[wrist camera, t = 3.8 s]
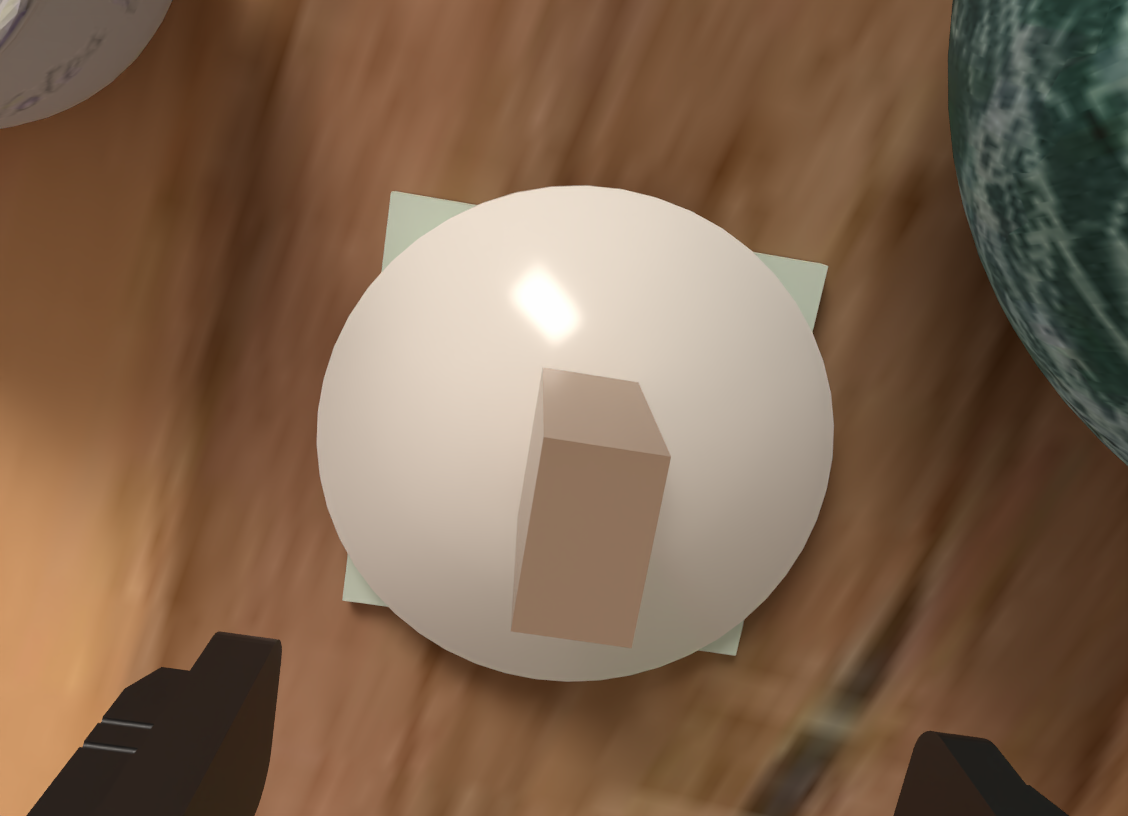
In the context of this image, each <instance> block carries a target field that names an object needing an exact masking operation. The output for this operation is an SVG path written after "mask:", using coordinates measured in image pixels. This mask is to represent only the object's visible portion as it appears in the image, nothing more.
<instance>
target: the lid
mask: <svg viewBox="0 0 1128 816" xmlns="http://www.w3.org/2000/svg"><path fill="white" fill-rule="evenodd" d="M833 435H834V422H833V411H832V400H831V392H830V387H829V383H828V379H827V374H826V370H825V366H824V362H823V359H822V356H821V354H820V351H819V349H818V346H817V343H816V341H815V338H814V336H813V333H812V330H811V329H810V327H809V325H808V323H807V321H806V320H805V318H804V316H803V314H802V312H801V311H800V309H799V307H798V305H797V303H796V302H795V300H794V299H793V298H792V296H791V295H790V294H789V292H788V291H787V290H786V288H785V287H784V286H783V284H782V283H781V282H780V280H779V279H778V278H777V276H776V275H775V274H774V273H773V272H772V271H771V270H770V269H769V268H768V267H767V266H766V265H765V264H764V263H763V262H762V261H761V260H760V259H759V258H758V257H757V256H756V255H755V254H754V253H753V252H752V251H751V250H750V249H749V248H747V247H746V246H745V245H743V244H742V243H741V242H740V241H738V240H737V239H736V238H734V237H733V236H732V235H730V234H729V233H728V232H726V231H725V230H724V229H722V228H720V227H719V226H717V225H715V224H713V223H712V222H710V221H708V220H706V219H704V218H703V217H701V216H699V215H697V214H695V213H694V212H692V211H689V210H687V209H684V208H682V207H679V206H677V205H674V204H671V203H669V202H666V201H664V200H661V199H659V198H656V197H653V196H648V195H644V194H640V193H636V192H632V191H628V190H624V189H619V188H609V187H599V186H590V185H572V186H549V187H543V188H537V189H531V190H525V191H519V192H515V193H512V194H508V195H505V196H502V197H499V198H495V199H492V200H489V201H486V202H483V203H481V204H478V205H476V206H474V207H472V208H470V209H468V210H466V211H463V212H461V213H459V214H457V215H455V216H453V217H451V218H449V219H448V220H446V221H445V222H443V223H442V224H440V225H438V226H437V227H435V228H434V229H432V230H431V231H429V232H428V233H426V234H424V235H423V236H421V237H420V238H418V239H417V240H416V241H415V242H414V243H413V244H411V245H410V246H409V247H408V248H407V249H405V250H404V251H403V252H402V253H401V254H400V255H398V256H397V257H396V258H395V259H394V260H393V261H391V263H390V264H389V265H388V266H387V267H386V268H385V269H384V270H383V271H382V273H381V274H380V275H379V276H378V277H377V278H376V279H375V280H374V282H373V283H372V284H371V285H370V286H369V287H368V289H367V290H366V292H365V293H364V295H363V296H362V297H361V299H360V300H359V302H358V303H357V305H356V306H355V308H354V309H353V311H352V312H351V314H350V315H349V317H348V319H347V321H346V323H345V325H344V327H343V329H342V331H341V334H340V336H339V338H338V340H337V342H336V344H335V346H334V348H333V352H332V355H331V358H330V361H329V364H328V367H327V370H326V373H325V376H324V380H323V385H322V391H321V397H320V402H319V408H318V421H317V453H318V463H319V472H320V479H321V483H322V487H323V491H324V496H325V500H326V504H327V508H328V510H329V513H330V516H331V518H332V521H333V523H334V526H335V528H336V531H337V534H338V536H339V538H340V540H341V542H342V544H343V546H344V547H345V549H346V551H347V553H348V555H349V556H350V558H351V560H352V562H353V564H354V565H355V567H356V568H357V570H358V571H359V572H360V574H361V575H362V576H363V578H364V579H365V580H366V582H367V583H368V584H369V586H370V587H371V588H372V590H373V591H374V592H375V593H376V594H377V595H378V596H379V597H380V598H381V599H382V601H383V602H384V603H385V604H386V605H387V606H388V607H389V608H390V609H391V610H392V611H393V612H394V613H395V614H396V615H397V616H399V617H400V618H401V619H402V620H404V621H405V622H406V623H407V624H409V625H410V626H411V627H412V628H413V629H415V630H416V631H417V632H418V633H420V634H421V635H423V636H424V637H426V638H428V639H429V640H431V641H433V642H434V643H436V644H437V645H439V646H441V647H442V648H444V649H445V650H447V651H449V652H452V653H454V654H456V655H458V656H460V657H462V658H464V659H467V660H469V661H471V662H473V663H475V664H478V665H482V666H485V667H488V668H491V669H494V670H497V671H500V672H503V673H507V674H512V675H517V676H522V677H527V678H532V679H540V680H552V681H565V682H571V681H596V680H605V679H611V678H617V677H624V676H630V675H634V674H637V673H641V672H644V671H648V670H651V669H655V668H659V667H662V666H664V665H666V664H669V663H671V662H674V661H676V660H679V659H681V658H683V657H686V656H688V655H690V654H692V653H694V652H696V651H698V650H699V649H701V648H703V647H705V646H707V645H708V644H710V643H712V642H714V641H716V640H717V639H719V638H720V637H721V636H723V635H724V634H726V633H727V632H728V631H730V630H731V629H732V628H734V627H735V626H737V625H738V624H739V623H741V622H742V621H743V620H744V619H745V618H746V617H748V616H749V615H750V614H751V613H752V612H753V611H754V610H755V609H756V608H757V607H758V606H759V605H760V604H761V603H763V602H764V601H765V600H766V599H767V597H768V596H769V595H770V594H771V593H772V592H773V590H774V589H775V588H776V587H777V586H778V584H779V583H780V582H781V581H782V580H783V578H784V577H785V576H786V575H787V573H788V572H789V570H790V568H791V567H792V565H793V564H794V562H795V561H796V559H797V558H798V556H799V554H800V553H801V551H802V550H803V548H804V546H805V544H806V542H807V540H808V538H809V535H810V533H811V531H812V529H813V527H814V525H815V523H816V521H817V518H818V515H819V512H820V509H821V506H822V503H823V499H824V496H825V493H826V490H827V485H828V480H829V474H830V469H831V463H832V457H833Z"/></svg>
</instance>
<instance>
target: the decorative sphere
mask: <svg viewBox="0 0 1128 816" xmlns="http://www.w3.org/2000/svg"><path fill="white" fill-rule="evenodd" d="M948 110H949V120H950V130H951V139H952V149H953V158H954V163H955V168H956V173H957V178H958V183H959V188H960V193H961V198H962V203H963V206H964V210H965V213H966V216H967V220H968V223H969V226H970V229H971V232H972V236H973V239H974V242H975V245H976V248H977V251H978V255H979V257H980V260H981V262H982V264H983V267H984V269H985V271H986V274H987V276H988V278H989V281H990V283H991V285H992V288H993V290H994V292H995V295H996V297H997V299H998V301H999V303H1000V305H1001V307H1002V309H1003V311H1004V312H1005V314H1006V316H1007V318H1008V320H1009V322H1010V323H1011V325H1012V327H1013V329H1014V330H1015V332H1016V334H1017V335H1018V337H1019V338H1020V340H1021V341H1022V343H1023V344H1024V346H1025V348H1026V349H1027V351H1028V352H1029V354H1030V355H1031V357H1032V358H1033V360H1034V362H1035V363H1036V365H1037V366H1038V368H1039V369H1040V370H1041V371H1042V373H1043V374H1044V375H1045V377H1046V378H1047V379H1048V381H1049V382H1050V383H1051V385H1052V386H1053V387H1054V389H1055V390H1056V391H1057V393H1058V394H1059V395H1060V396H1061V398H1062V399H1063V400H1064V402H1065V403H1066V404H1067V405H1068V406H1069V407H1070V408H1071V409H1072V410H1073V412H1074V413H1075V414H1076V415H1077V416H1078V417H1079V418H1080V419H1081V420H1082V421H1083V422H1084V423H1085V424H1086V425H1087V427H1088V428H1089V429H1090V430H1091V431H1092V432H1093V433H1094V434H1095V435H1096V436H1097V437H1098V438H1099V439H1100V441H1101V442H1102V443H1104V444H1105V445H1106V446H1107V447H1108V448H1109V449H1110V450H1111V451H1112V452H1113V453H1114V454H1115V455H1116V456H1118V457H1119V458H1120V459H1121V460H1122V461H1123V462H1124V463H1125V464H1126V465H1127V466H1128V0H953V3H952V15H951V27H950V39H949V51H948Z"/></svg>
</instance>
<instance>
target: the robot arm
mask: <svg viewBox="0 0 1128 816" xmlns="http://www.w3.org/2000/svg"><path fill="white" fill-rule="evenodd" d="M281 655H282V646H281V641H280V640H277V639H270V638H263V637H256V636H248V635H241V634H234V633H227V632H217V633H215V635H214V636H213V637H212V639H211V640H210V642H209V643H208V645H207V646H206V648H205V649H204V651H203V652H202V654H201V655H200V657H199V658H198V659H197V661H196V662H195V664H194V665H193V667H192V668H191V670H190V671H187V670H180V669H172V668H165V667H161V668H159V669H157V670H156V671H154V672H152V673H151V674H149V675H147V676H146V677H144V678H142V679H140V680H139V681H137V682H135V683H134V684H132V685H130V686H129V687H127V688H125V689H124V690H123V692H122V693H121V694H120V695H119V697H118V698H117V699H116V701H115V702H114V703H113V704H112V706H111V707H110V708H109V710H108V711H107V712H106V714H105V715H104V716H103V719H102V722H101V723H98V724H97V725H96V726H95V728H94V729H93V730H92V732H91V733H90V734H89V735H88V737H87V738H86V739H85V741H84V745H83V747H79V748H78V750H77V751H76V752H75V754H74V755H73V756H72V757H71V759H70V760H69V761H68V763H67V764H66V765H65V767H64V768H63V769H62V770H61V772H60V773H59V774H58V776H57V777H56V778H55V779H54V781H53V782H52V783H51V785H50V786H49V787H48V788H47V790H46V791H45V792H44V794H43V795H42V796H41V798H40V799H39V800H38V801H37V803H36V804H35V805H34V807H33V808H32V809H31V810H30V812H29V813H28V814H27V816H254V815H255V813H256V810H257V808H258V805H259V802H260V799H261V796H262V792H263V789H264V785H265V781H266V777H267V772H268V767H269V762H270V755H271V747H272V738H273V729H274V720H275V711H276V702H277V693H278V684H279V675H280V666H281ZM894 816H1069V815H1067V814H1066V813H1065V812H1063V811H1062V810H1061V809H1060V808H1058V807H1057V806H1056V805H1054V804H1053V803H1052V802H1051V801H1049V800H1048V799H1047V798H1045V797H1044V796H1043V795H1041V794H1040V793H1039V792H1038V791H1036V790H1035V789H1034V788H1032V787H1031V786H1030V785H1026V784H1025V782H1024V781H1023V780H1022V779H1021V777H1020V776H1019V775H1018V774H1017V772H1016V771H1015V770H1014V769H1013V767H1012V766H1011V765H1010V764H1009V762H1008V761H1007V760H1006V759H1005V757H1004V756H1003V755H1002V754H1001V752H1000V751H999V750H998V748H997V747H996V746H995V745H994V744H993V743H992V742H991V741H989V740H988V739H984V738H977V737H970V736H963V735H956V734H948V733H941V732H934V731H927V732H924V733H923V734H922V735H921V736H920V737H919V738H918V740H917V742H916V744H915V747H914V749H913V753H912V756H911V759H910V763H909V766H908V769H907V773H906V776H905V779H904V783H903V786H902V789H901V793H900V796H899V799H898V803H897V806H896V809H895V813H894Z"/></svg>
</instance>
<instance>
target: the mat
mask: <svg viewBox="0 0 1128 816" xmlns="http://www.w3.org/2000/svg"><path fill="white" fill-rule="evenodd" d="M474 206H476V205H474V204H468V203H462V202H456V201H450V200H444V199H438V198H432V197H426V196H421V195H415V194H409V193H403V192H397V191H393V192H391V197H390V205H389V214H388V222H387V231H386V239H385V247H384V256H383V264H382V271H383V270H384V269H385V268H386V267H387V266H388V265H389V264H390V263H391V261H393V260H394V259H395V258H396V257H397V256H398V255H400V254H401V253H402V252H403V251H404V250H405V249H407V248H408V247H409V246H410V245H411V244H413V243H414V242H415V241H416V240H417V239H418V238H420V237H421V236H423V235H424V234H426V233H428V232H429V231H431V230H432V229H434V228H435V227H437V226H438V225H440V224H442V223H443V222H445V221H446V220H448V219H449V218H451V217H453V216H455V215H457V214H459V213H461V212H463V211H466V210H468V209H470V208H472V207H474ZM753 253H754V254H755V255H756V256H757V257H758V258H759V259H760V260H761V261H762V262H763V263H764V264H765V265H766V266H767V267H768V268H769V269H770V270H771V271H772V272H773V273H774V274H775V275H776V276H777V278H778V279H779V280H780V282H781V283H782V284H783V286H784V287H785V288H786V290H787V291H788V292H789V294H790V295H791V296H792V298H793V299H794V300H795V302H796V303H797V305H798V307H799V309H800V311H801V312H802V314H803V316H804V318H805V320H806V321H807V323H808V325H809V327H810V329H811V330H812V332H813V328H814V324H815V320H816V315H817V311H818V307H819V303H820V299H821V294H822V290H823V286H824V282H825V277H826V273H827V269H828V266H827V265H824V264H821V263H815V262H809V261H803V260H797V259H792V258H786V257H780V256H774V255H768V254H762V253H756V252H753ZM381 273H382V272H381ZM343 601H350V602H358V603H365V604H372V605H379V606H386V607H388V606H387V605H386V604H385V603H384V602H383V601H382V599H381V598H380V597H379V596H378V595H377V594H376V593H375V592H374V591H373V590H372V588H371V587H370V586H369V584H368V583H367V582H366V580H365V579H364V578H363V576H362V575H361V574H360V572H359V571H358V570H357V568H356V567H355V565H354V564H353V562H352V560H351V558H350V556H349V555H348V558H347V566H346V575H345V583H344V591H343ZM743 623H744V620H743V621H742V622H741V623H739V624H738V625H737V626H735V627H734V628H732V629H731V630H730V631H728V632H727V633H726V634H724V635H723V636H721V637H720V638H719V639H717V640H716V641H714V642H712V643H710V644H708V645H707V646H705V647H703V648H701V649H699V651H706V652H713V653H720V654H728V655H735V656H736V652H737V648H738V644H739V640H740V636H741V631H742V627H743Z"/></svg>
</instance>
